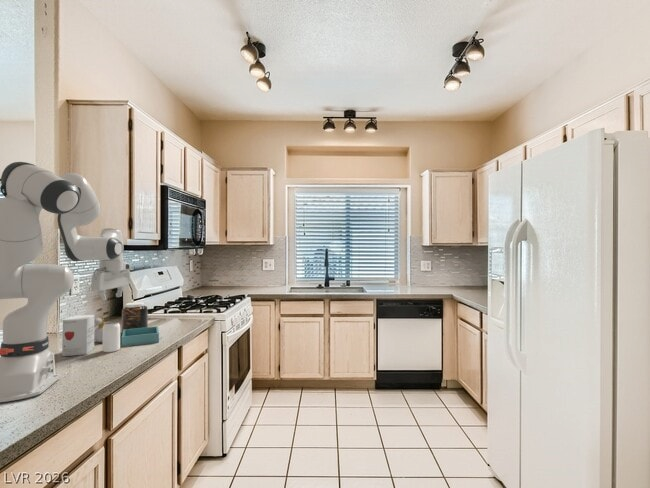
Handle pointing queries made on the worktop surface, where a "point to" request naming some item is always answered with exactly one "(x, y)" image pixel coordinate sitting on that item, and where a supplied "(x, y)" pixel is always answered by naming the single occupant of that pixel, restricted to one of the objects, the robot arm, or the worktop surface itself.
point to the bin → (140, 336)
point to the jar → (134, 316)
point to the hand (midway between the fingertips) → (111, 298)
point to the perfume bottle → (98, 329)
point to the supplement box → (78, 335)
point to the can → (111, 336)
